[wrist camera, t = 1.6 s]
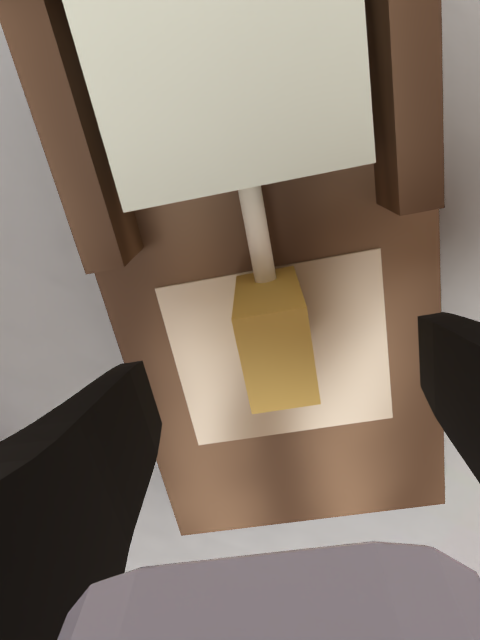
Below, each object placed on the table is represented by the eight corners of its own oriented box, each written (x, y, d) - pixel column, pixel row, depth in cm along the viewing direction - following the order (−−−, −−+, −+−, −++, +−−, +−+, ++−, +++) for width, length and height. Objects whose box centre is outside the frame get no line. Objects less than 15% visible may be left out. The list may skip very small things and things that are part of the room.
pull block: (199, 360, 16) (184, 424, 13) (111, 13, 12) (50, -41, 9) (359, 334, 16) (392, 393, 12) (323, -39, 12) (356, -121, 8)
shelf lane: (186, 510, 22) (170, 598, 18) (25, 2, 14) (-73, -56, 10) (431, 479, 21) (477, 564, 16) (412, -96, 13) (490, -211, 8)
